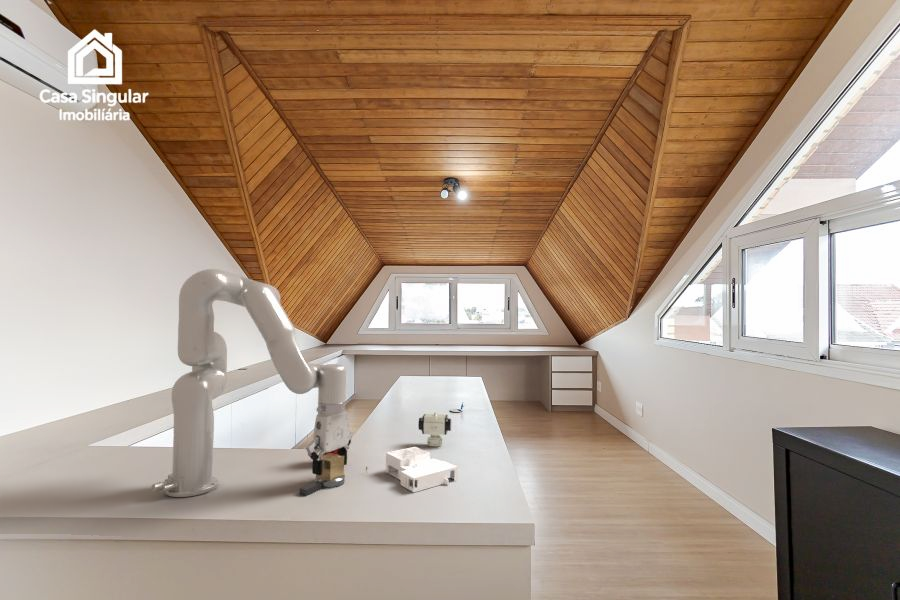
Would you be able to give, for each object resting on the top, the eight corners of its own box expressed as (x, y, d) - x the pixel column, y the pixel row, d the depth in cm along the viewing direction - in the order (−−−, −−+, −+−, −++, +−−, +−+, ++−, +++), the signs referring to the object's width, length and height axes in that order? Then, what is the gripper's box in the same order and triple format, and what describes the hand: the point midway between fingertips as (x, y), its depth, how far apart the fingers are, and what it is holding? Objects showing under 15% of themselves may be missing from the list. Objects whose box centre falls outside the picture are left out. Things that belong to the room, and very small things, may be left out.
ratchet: (313, 498, 114) (314, 477, 115) (292, 492, 118) (292, 472, 119) (350, 481, 127) (350, 462, 127) (329, 476, 131) (330, 457, 131)
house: (365, 473, 133) (366, 453, 133) (416, 461, 145) (416, 443, 145) (406, 498, 116) (406, 474, 116) (460, 482, 127) (460, 461, 127)
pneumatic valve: (420, 443, 165) (420, 410, 166) (451, 444, 164) (451, 411, 165) (417, 447, 160) (418, 414, 160) (449, 448, 159) (450, 415, 159)
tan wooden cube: (330, 481, 121) (330, 461, 122) (315, 477, 124) (316, 458, 124) (343, 475, 126) (344, 455, 126) (329, 472, 129) (330, 452, 129)
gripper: (318, 415, 116) (316, 481, 116) (361, 404, 132) (360, 462, 131) (298, 412, 120) (296, 475, 119) (342, 401, 135) (341, 458, 135)
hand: (330, 469), depth 125 cm, fingers open, 9 cm apart
